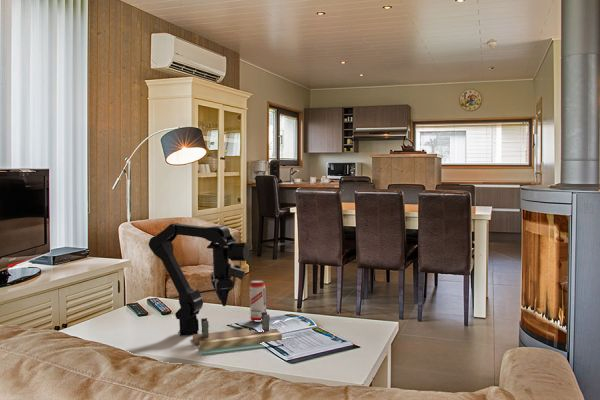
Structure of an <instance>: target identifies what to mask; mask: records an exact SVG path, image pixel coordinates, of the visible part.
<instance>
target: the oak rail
mask: <svg viewBox="0 0 600 400" xmlns="http://www.w3.org/2000/svg"><path fill="white" fill-rule="evenodd" d="M277 340H282V341H283V334H282V333H281V332H280V331H279V332H277V333H268V334H259V335H250V336H242V337H233V338H224V339H216V340H207V341H199V345H200V350H199V352H200V351H201V350H210V349H218V348H226V347H235V346H243V345H251V344H260V343H262V342H270V341H277ZM199 345H198V346H199Z"/></svg>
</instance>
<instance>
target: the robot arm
mask: <svg viewBox="0 0 600 400" xmlns="http://www.w3.org/2000/svg"><path fill="white" fill-rule="evenodd" d="M178 236H186V237H192V238H193V237H194V238H201V239H205V240H206V241H208V242H210V243H209V244H208V245H207V246H206V248H207V249H211V250H212V269H213V271H212V272H210V275H209V276H210V282H211V284H212V287H213V290H214V292H215V294H216V296H217V298H218V301H220V303H221V305H222V307H226V306H227V302H228V296H229V293H230V292H231V291H232V290H234V288H235V281H233V279H232V277H233V278H236V279H239V280H243V281H244V276H245V274H246V271H245V270H244V269H242V268H241V266H240V265H239V264H234V265H233V266H232V264H231V263H230V261H231V262H248V261H249V258H250V253H251V252H250V249H249V246H248V245H247V241H242V242H241V241H240V242H237V241H236V239H235V238H234V237H233V235H232V234H231V230H230V229H229V228H228V226H227V225H213V226H200V225H195V224H194V225H193V224H184V223H179V222H176V223H175V222H174V223H170V224H169V225H168V226H167V227H165V228H164V229H163V230H162V231H161V232H158V234H156V235H154V236H152V237H151V238H150V239H149V242H148V247H149V249H150V250H151V252H152V253H153V254H154V256H155V257H156V258H158V259H160V260H161V262H162V264H163V266H164V268H165V271H167V273H168V276H169V278H170V279H171V282H172V284H173V286H174V287H175V289H176V292H177V293H178V303H179V306H180V308H179V309H178V310H177V311H176V312H175V313H174V316H175V318H176V320H178V324H179V330H178V331H179V336H180V337H181V336H190V335H192V336H193V335H195V334H199V330H200V329H199V327H200V325H199V319H198V317H197V316H198V315H199V314H200V310H202V308H203V306H204V301H203V300H204V297H202V295H201V293H200V290H199V289H195V290H194V289H193V288H191V286H190V283H189V282H188V280H187V278H186V276H185V274H184V273H183V270H182V268H181V266H180V264H179V262H178V261H177V258H176V257H175V255H174V245H173V241H174V240H175V239H176V238H177V237H178ZM229 260H230V261H229Z"/></svg>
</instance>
